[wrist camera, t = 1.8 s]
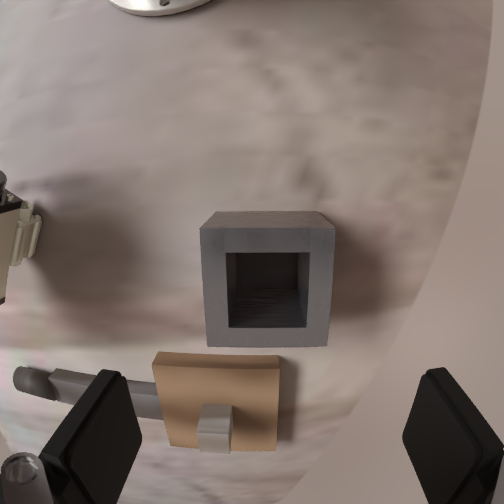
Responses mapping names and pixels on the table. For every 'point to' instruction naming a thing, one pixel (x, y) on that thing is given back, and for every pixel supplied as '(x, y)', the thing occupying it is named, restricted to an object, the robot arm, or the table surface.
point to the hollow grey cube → (267, 300)
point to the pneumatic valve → (15, 232)
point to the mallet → (190, 398)
